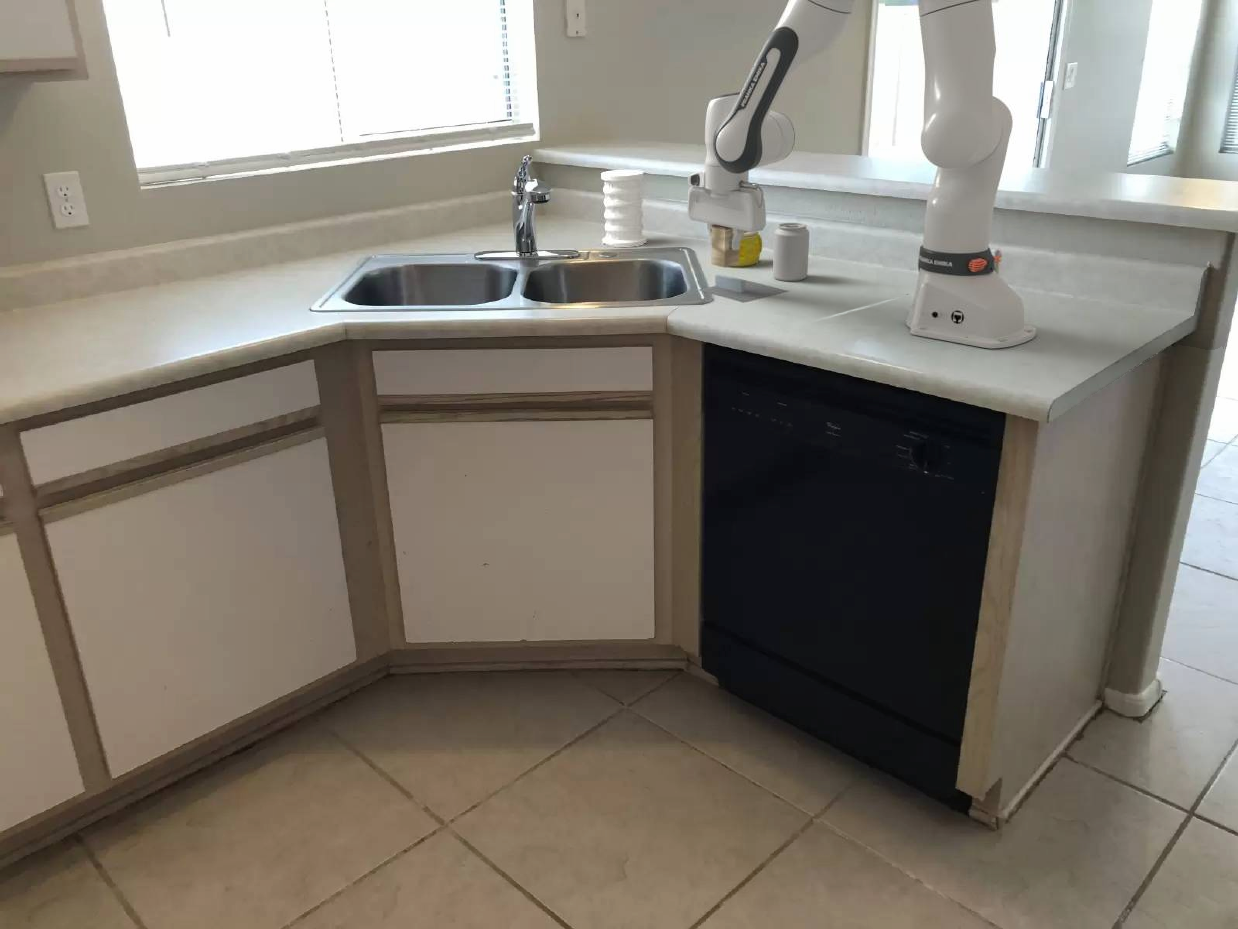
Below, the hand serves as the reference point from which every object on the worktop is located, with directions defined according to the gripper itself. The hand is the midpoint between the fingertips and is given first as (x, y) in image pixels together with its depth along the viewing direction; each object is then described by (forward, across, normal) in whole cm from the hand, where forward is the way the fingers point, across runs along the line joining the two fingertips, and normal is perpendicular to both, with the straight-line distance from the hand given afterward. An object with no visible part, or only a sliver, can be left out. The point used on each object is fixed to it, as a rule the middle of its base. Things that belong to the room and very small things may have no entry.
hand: (725, 247), depth 195 cm
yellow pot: (+10, +17, -20) cm, 28 cm away
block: (+4, 0, 0) cm, 4 cm away
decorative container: (+10, +56, -15) cm, 59 cm away
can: (+10, -2, -17) cm, 20 cm away
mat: (+9, -3, -2) cm, 10 cm away
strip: (+9, 0, -1) cm, 9 cm away
